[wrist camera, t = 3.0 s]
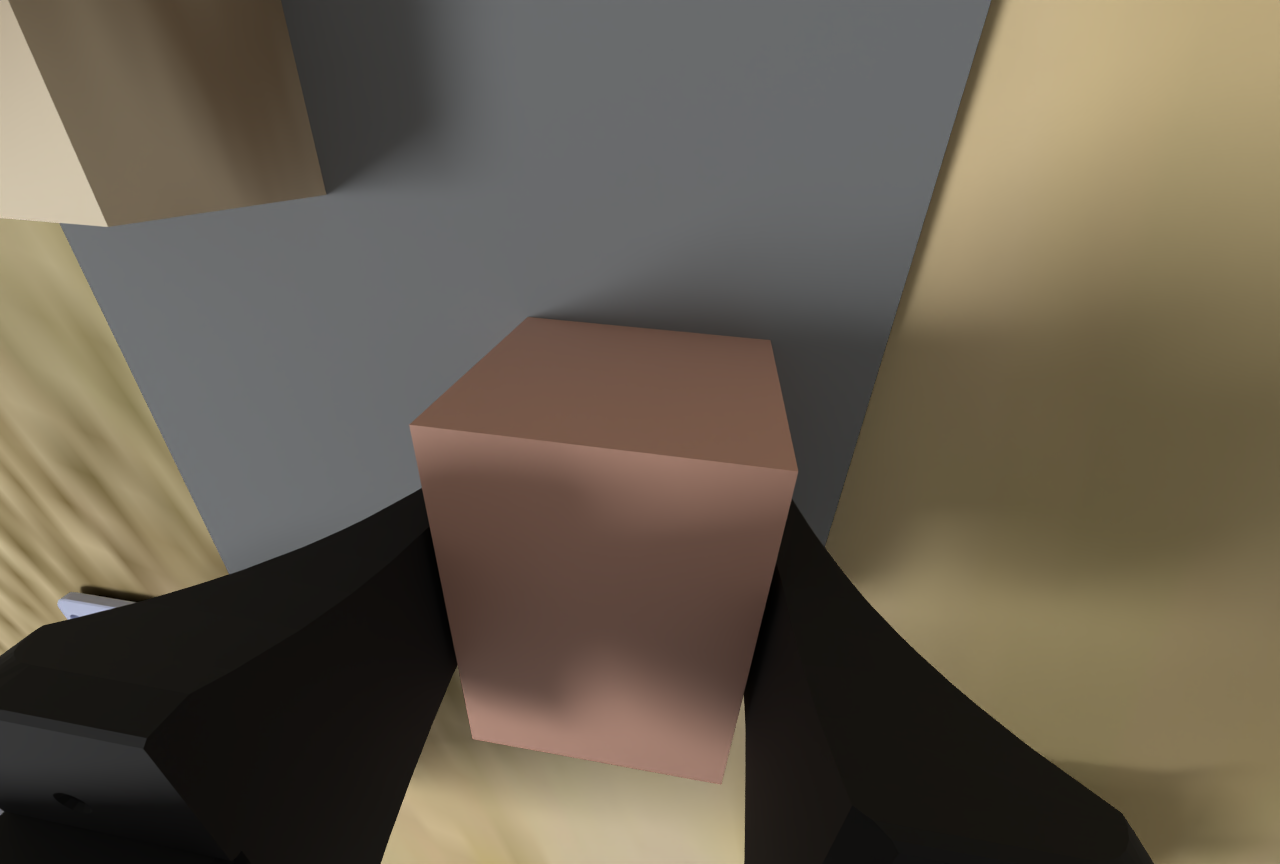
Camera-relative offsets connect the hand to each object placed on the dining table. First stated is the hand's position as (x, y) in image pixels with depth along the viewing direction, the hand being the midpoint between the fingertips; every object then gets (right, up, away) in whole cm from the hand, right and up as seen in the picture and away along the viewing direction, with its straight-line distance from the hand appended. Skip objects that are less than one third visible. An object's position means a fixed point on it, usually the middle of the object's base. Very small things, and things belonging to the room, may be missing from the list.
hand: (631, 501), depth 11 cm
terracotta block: (0, +1, +1) cm, 1 cm away
